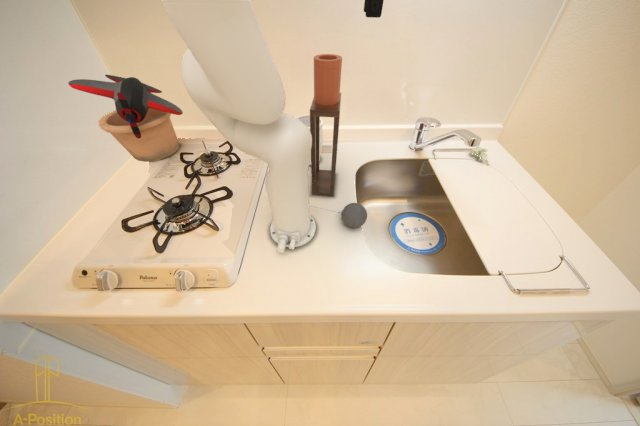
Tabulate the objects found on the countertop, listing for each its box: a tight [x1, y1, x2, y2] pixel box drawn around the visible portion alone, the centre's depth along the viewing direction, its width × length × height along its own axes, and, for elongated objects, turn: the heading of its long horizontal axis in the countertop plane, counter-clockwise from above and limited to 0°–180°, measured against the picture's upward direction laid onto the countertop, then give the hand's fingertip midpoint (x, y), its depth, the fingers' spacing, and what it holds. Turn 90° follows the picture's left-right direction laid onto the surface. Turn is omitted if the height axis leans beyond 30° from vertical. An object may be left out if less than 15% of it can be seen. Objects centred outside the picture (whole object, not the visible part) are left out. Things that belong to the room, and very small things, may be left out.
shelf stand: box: [309, 92, 342, 197], centre depth 64 cm, size 12×7×27 cm, turn 174°
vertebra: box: [470, 145, 489, 162], centre depth 83 cm, size 6×7×4 cm
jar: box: [295, 114, 324, 166], centre depth 79 cm, size 11×10×15 cm
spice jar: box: [313, 53, 343, 105], centre depth 51 cm, size 6×6×9 cm
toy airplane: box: [68, 74, 184, 139], centre depth 70 cm, size 28×24×15 cm
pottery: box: [98, 108, 181, 163], centre depth 82 cm, size 22×22×14 cm
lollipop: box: [310, 202, 368, 229], centre depth 62 cm, size 10×20×7 cm, turn 85°
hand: (371, 14), depth 49 cm, fingers open, 9 cm apart
